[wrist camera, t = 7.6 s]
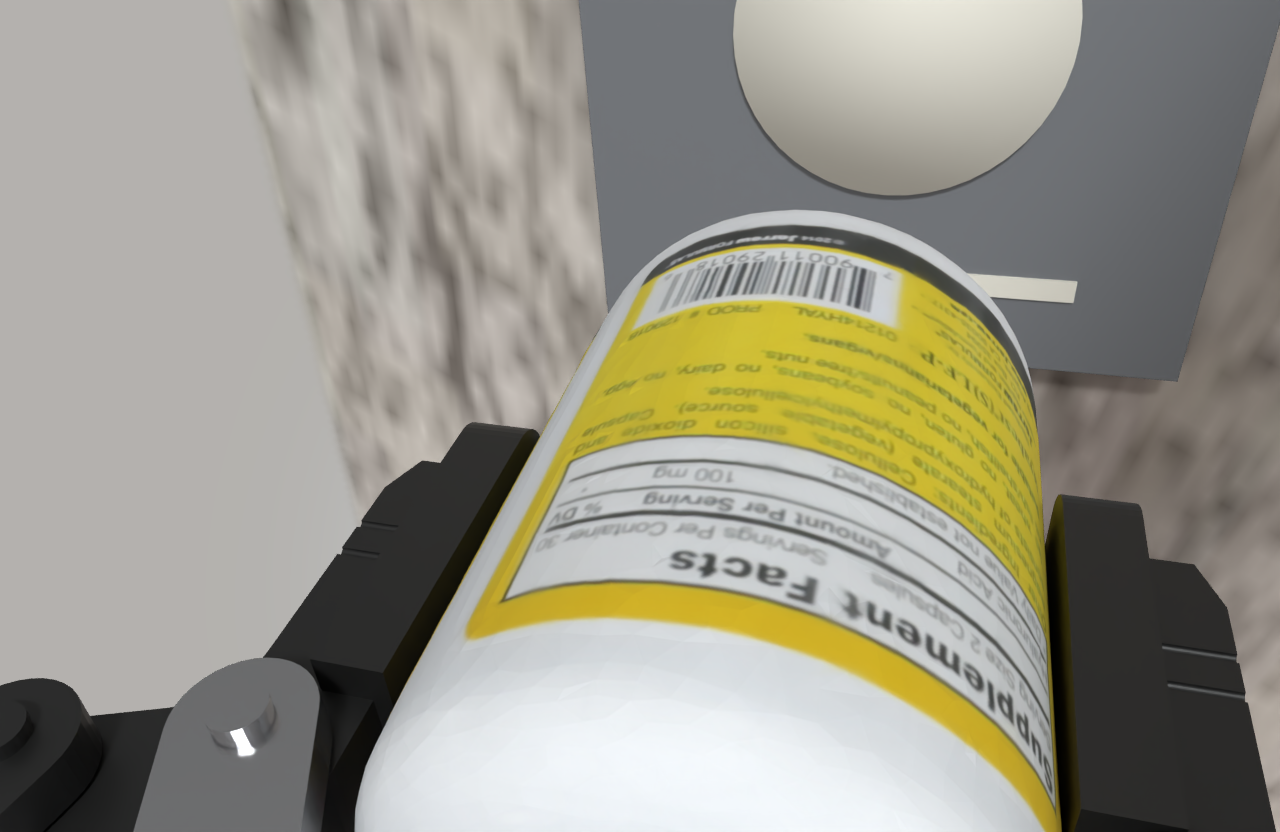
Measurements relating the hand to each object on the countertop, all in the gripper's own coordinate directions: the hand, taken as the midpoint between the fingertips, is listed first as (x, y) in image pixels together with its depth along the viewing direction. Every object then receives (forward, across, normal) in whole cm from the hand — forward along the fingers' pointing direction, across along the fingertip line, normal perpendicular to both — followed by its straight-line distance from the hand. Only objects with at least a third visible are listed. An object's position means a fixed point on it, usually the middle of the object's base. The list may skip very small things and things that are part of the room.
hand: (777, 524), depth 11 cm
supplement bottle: (+3, 0, 0) cm, 3 cm away
